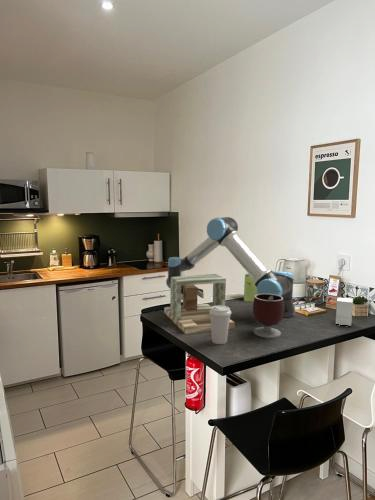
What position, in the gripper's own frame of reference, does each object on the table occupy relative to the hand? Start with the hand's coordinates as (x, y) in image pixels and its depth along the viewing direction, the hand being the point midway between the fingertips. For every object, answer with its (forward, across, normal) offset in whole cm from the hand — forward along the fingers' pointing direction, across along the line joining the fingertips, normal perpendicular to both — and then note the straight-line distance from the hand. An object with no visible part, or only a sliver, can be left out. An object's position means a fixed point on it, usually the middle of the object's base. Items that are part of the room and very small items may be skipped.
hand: (192, 296), depth 202 cm
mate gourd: (+35, -24, -11) cm, 44 cm away
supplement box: (+34, -68, -11) cm, 77 cm away
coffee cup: (+37, +2, -11) cm, 39 cm away
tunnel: (+7, 0, -11) cm, 13 cm away
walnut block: (-4, 0, -8) cm, 9 cm away
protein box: (-19, -50, -11) cm, 54 cm away
